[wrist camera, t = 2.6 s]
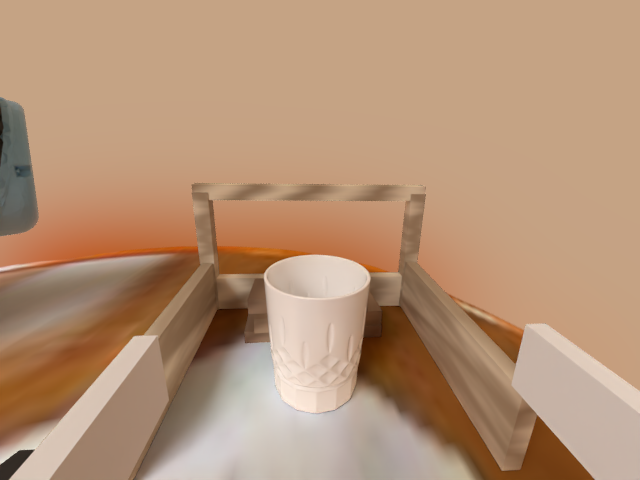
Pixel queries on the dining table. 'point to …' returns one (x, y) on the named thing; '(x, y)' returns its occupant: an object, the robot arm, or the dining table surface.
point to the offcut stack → (259, 321)
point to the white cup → (316, 328)
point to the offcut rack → (387, 289)
